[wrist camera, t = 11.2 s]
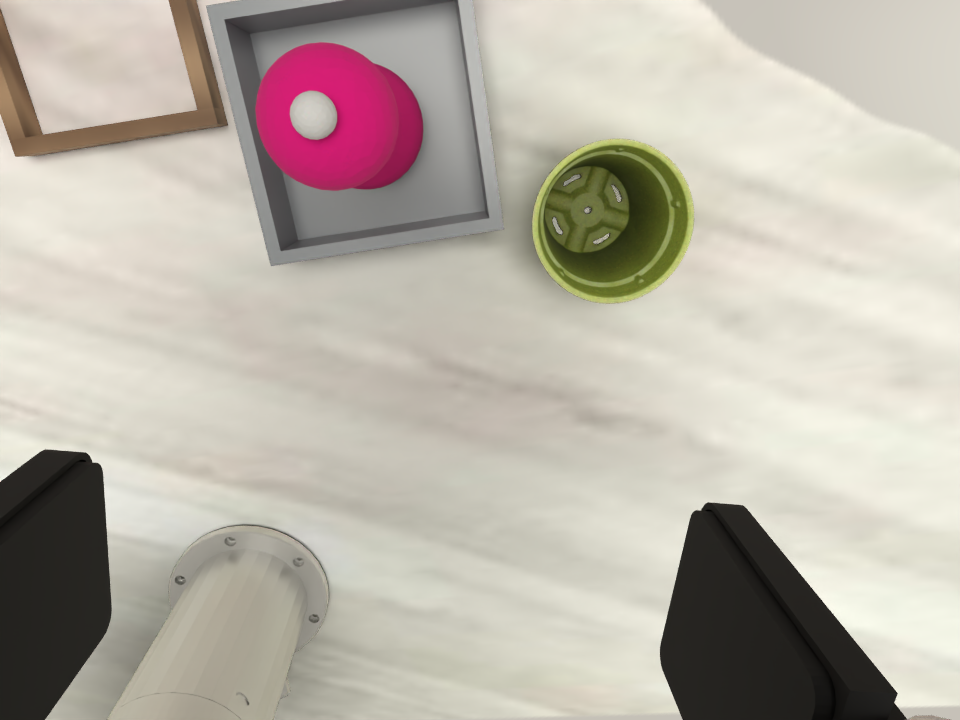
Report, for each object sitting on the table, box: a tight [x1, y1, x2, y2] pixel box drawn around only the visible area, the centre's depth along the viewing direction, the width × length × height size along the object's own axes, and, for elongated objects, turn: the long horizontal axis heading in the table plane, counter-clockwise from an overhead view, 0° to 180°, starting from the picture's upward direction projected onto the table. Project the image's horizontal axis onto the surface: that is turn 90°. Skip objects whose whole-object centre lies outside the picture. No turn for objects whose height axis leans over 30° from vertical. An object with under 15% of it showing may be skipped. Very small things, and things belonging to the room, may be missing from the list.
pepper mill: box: [255, 42, 423, 191], centre depth 34 cm, size 7×7×20 cm
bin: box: [206, 0, 504, 266], centre depth 42 cm, size 15×15×6 cm
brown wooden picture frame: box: [0, 0, 228, 157], centre depth 41 cm, size 13×13×2 cm
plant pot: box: [532, 139, 694, 304], centre depth 43 cm, size 9×9×9 cm
